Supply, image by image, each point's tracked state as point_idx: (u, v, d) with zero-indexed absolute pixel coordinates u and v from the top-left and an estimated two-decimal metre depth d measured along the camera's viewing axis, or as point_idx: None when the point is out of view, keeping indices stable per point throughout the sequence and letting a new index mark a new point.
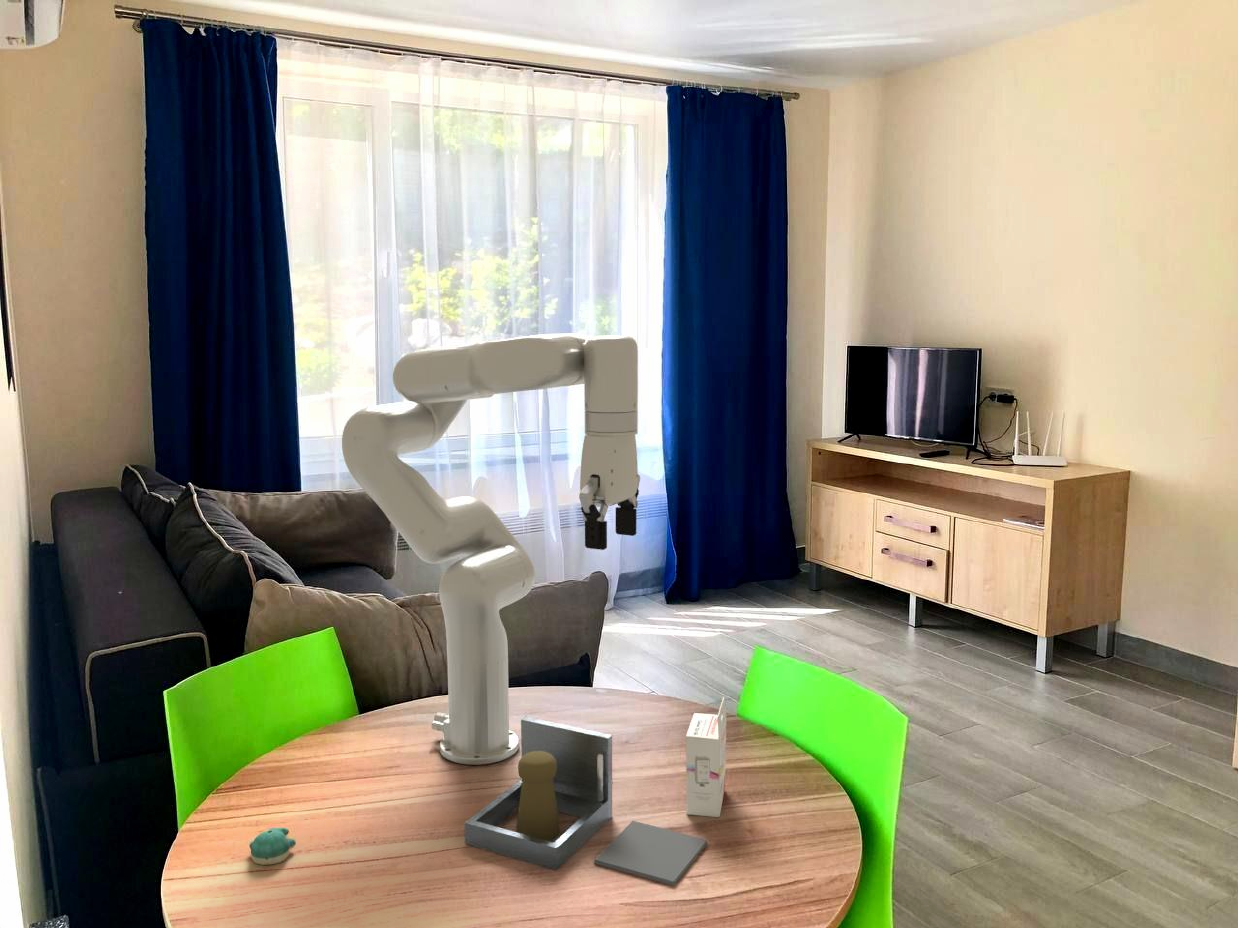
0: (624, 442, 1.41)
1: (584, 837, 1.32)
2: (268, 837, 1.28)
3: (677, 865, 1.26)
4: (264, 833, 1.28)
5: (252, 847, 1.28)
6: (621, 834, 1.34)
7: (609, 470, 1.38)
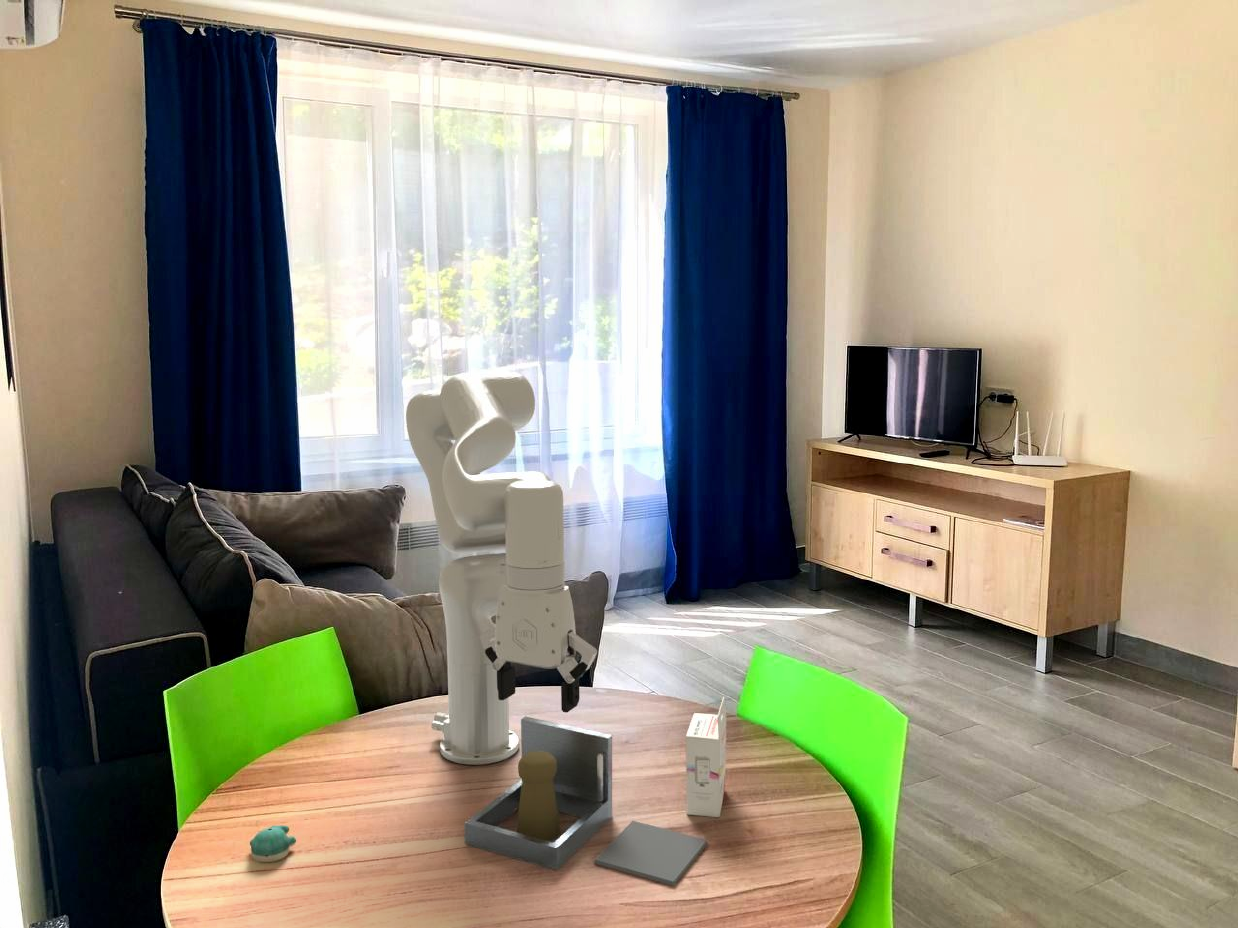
0: None
1: (584, 837, 1.32)
2: (268, 835, 1.28)
3: (677, 865, 1.26)
4: (264, 831, 1.29)
5: (252, 844, 1.28)
6: (621, 834, 1.34)
7: None
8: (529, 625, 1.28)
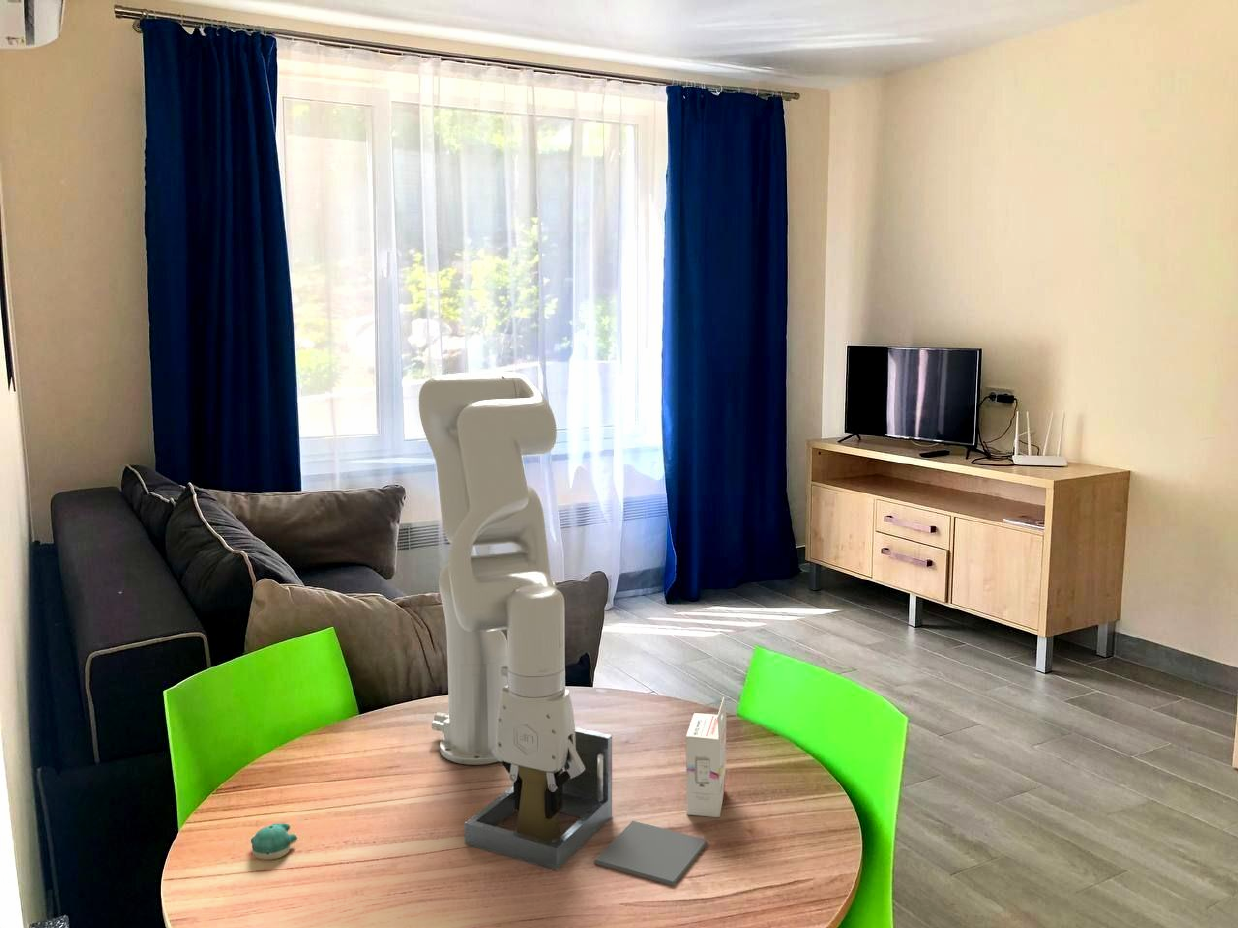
0: None
1: (584, 837, 1.32)
2: (269, 833, 1.29)
3: (677, 865, 1.26)
4: (265, 828, 1.29)
5: (253, 842, 1.29)
6: (621, 834, 1.34)
7: None
8: (530, 730, 1.30)
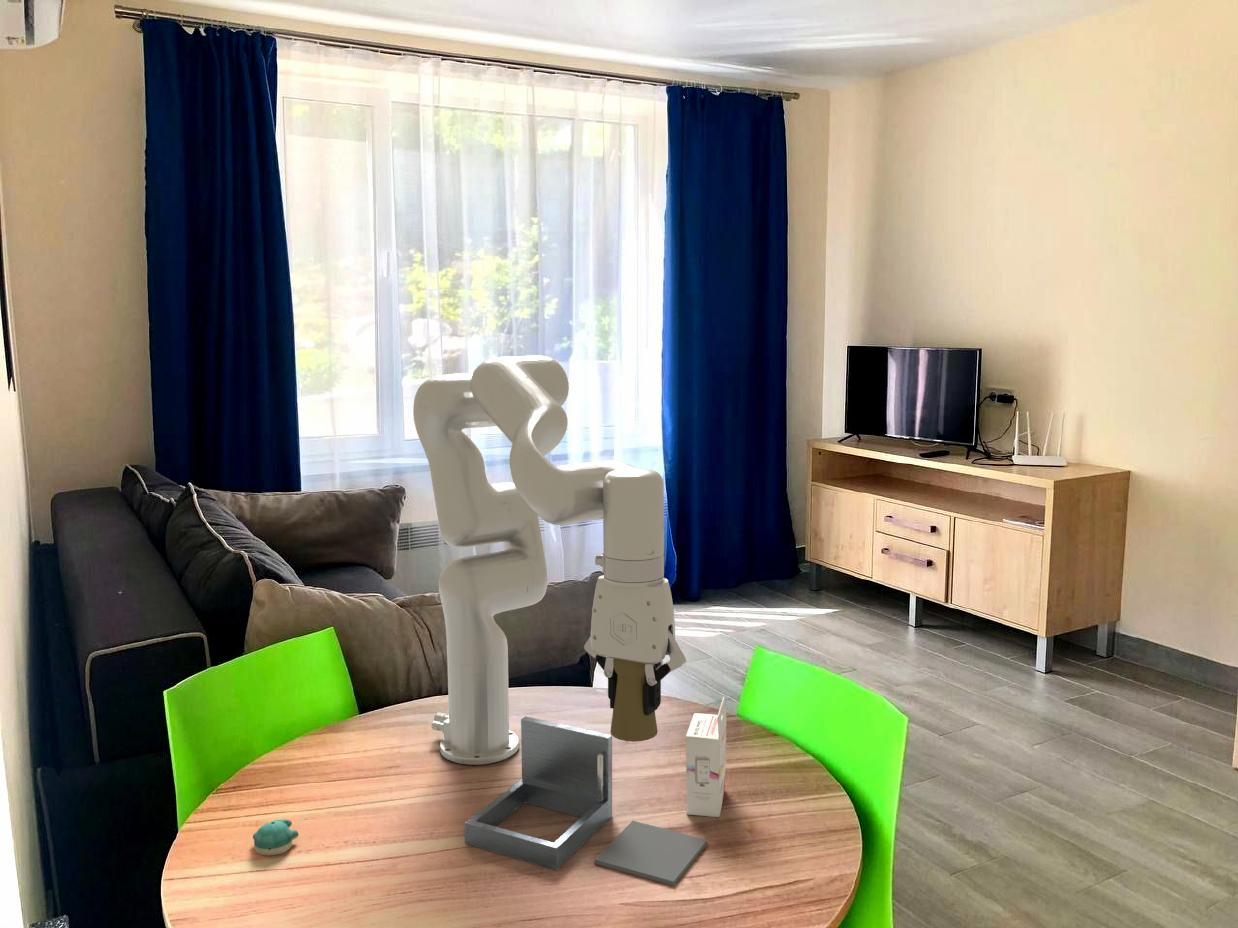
0: None
1: (584, 837, 1.32)
2: (271, 829, 1.30)
3: (677, 865, 1.26)
4: (267, 824, 1.30)
5: (255, 838, 1.30)
6: (621, 834, 1.34)
7: None
8: (628, 619, 1.23)
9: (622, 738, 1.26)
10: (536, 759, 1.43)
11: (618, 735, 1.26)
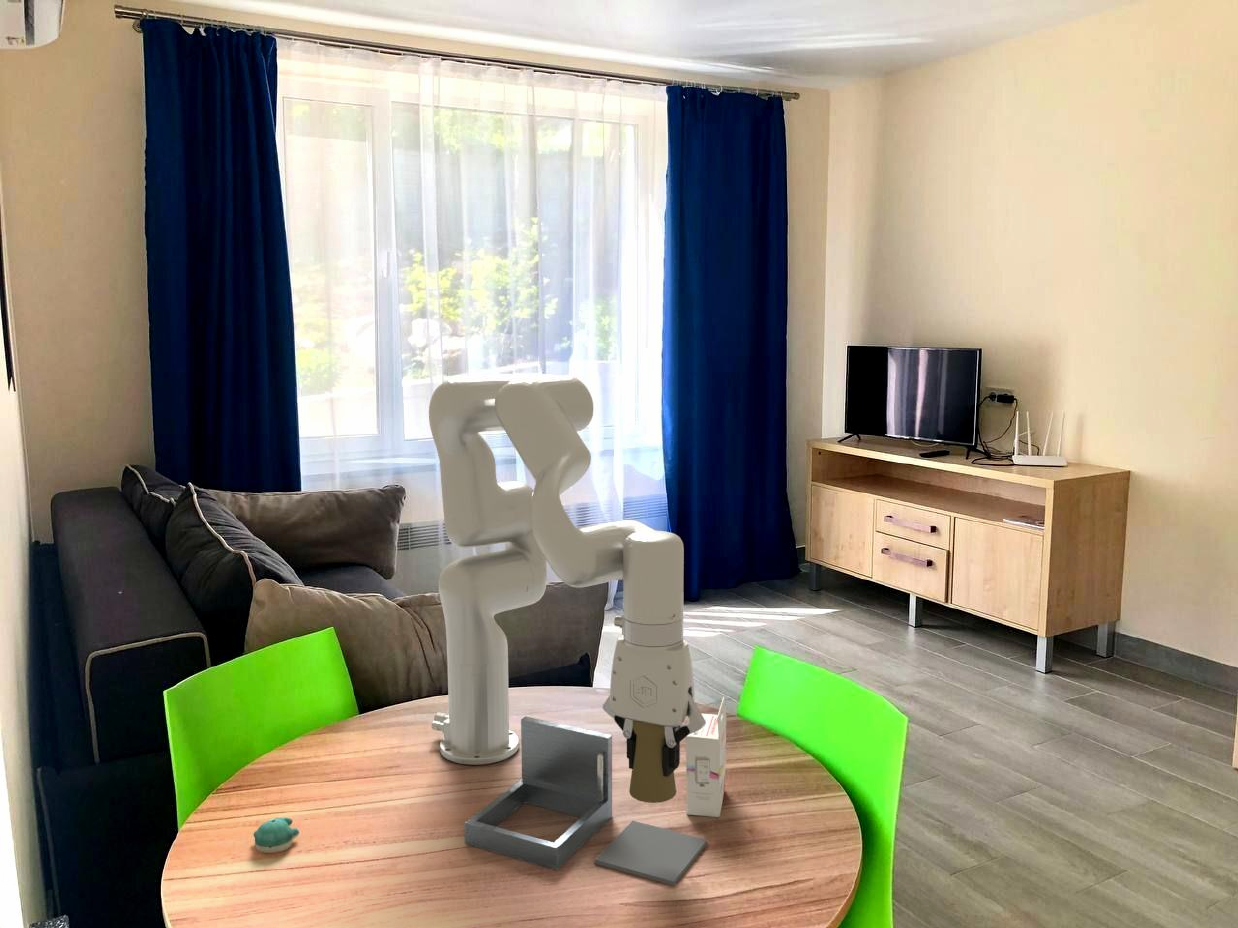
0: None
1: (584, 837, 1.32)
2: (272, 827, 1.30)
3: (677, 865, 1.26)
4: (268, 822, 1.31)
5: (256, 836, 1.30)
6: (621, 834, 1.34)
7: None
8: (648, 682, 1.24)
9: (641, 799, 1.26)
10: (536, 759, 1.43)
11: (637, 796, 1.26)
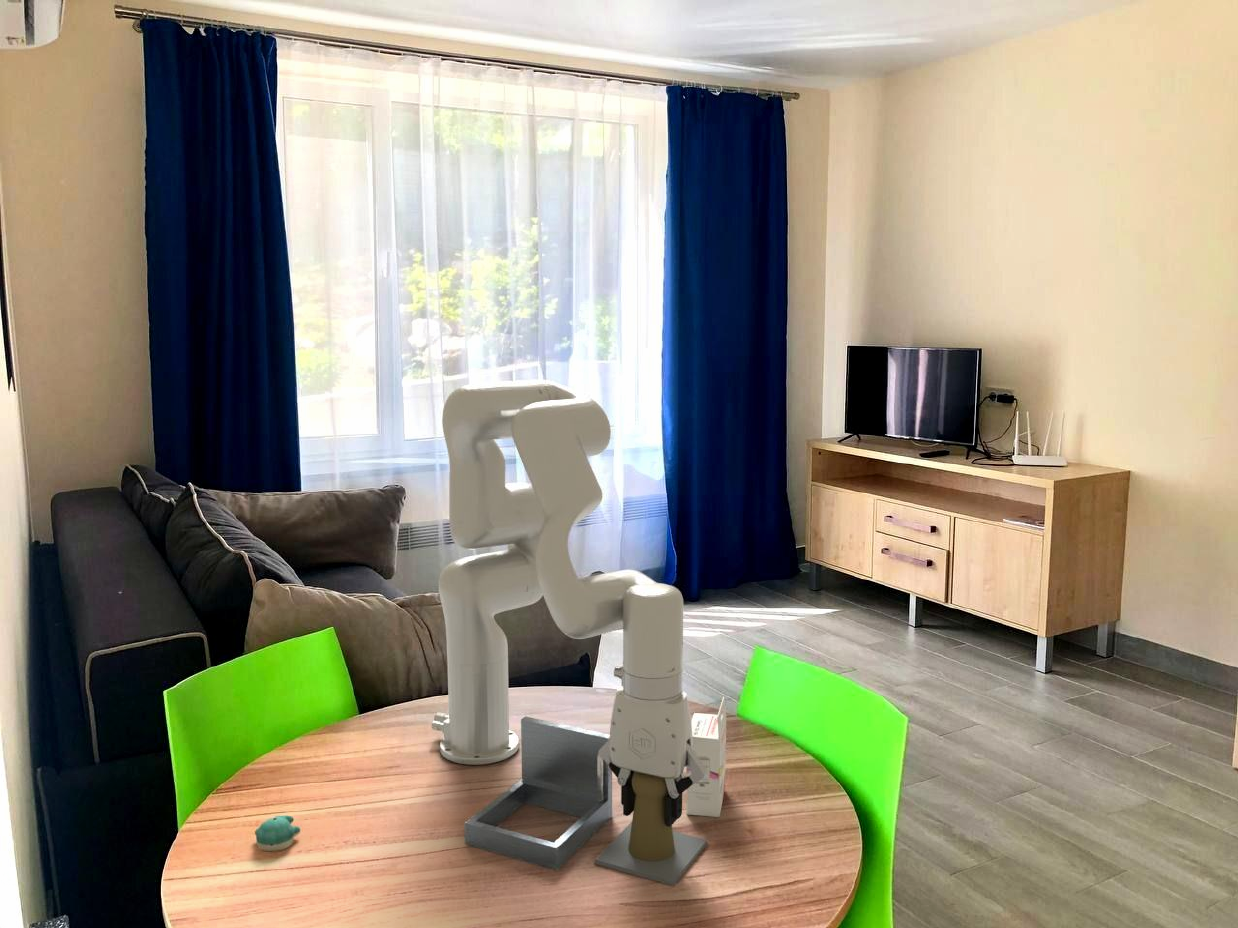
0: None
1: (584, 837, 1.32)
2: (273, 825, 1.31)
3: (677, 865, 1.26)
4: (269, 820, 1.32)
5: (257, 834, 1.31)
6: (621, 834, 1.34)
7: None
8: (647, 734, 1.25)
9: (641, 858, 1.28)
10: (536, 759, 1.43)
11: (637, 854, 1.28)
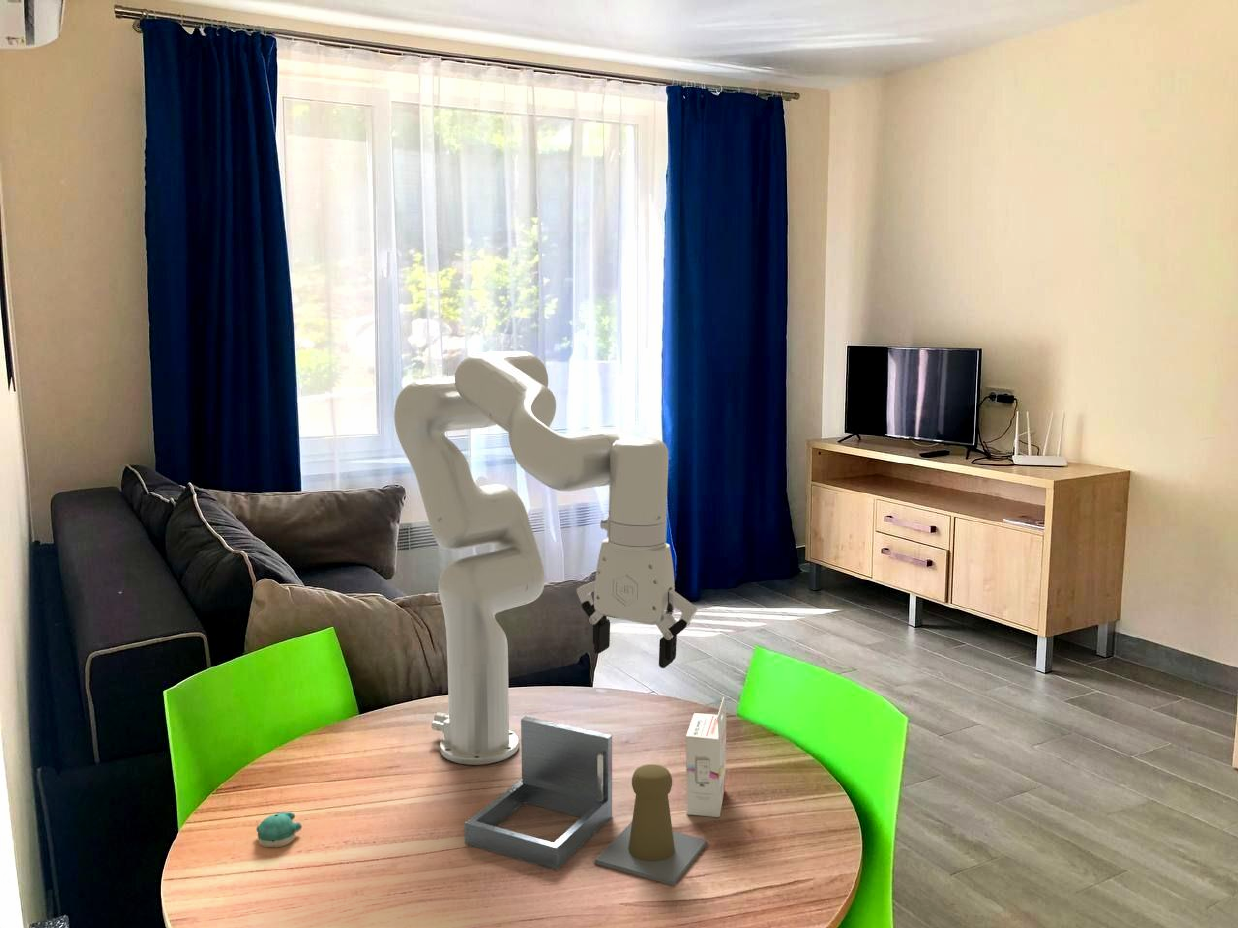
0: None
1: (584, 837, 1.32)
2: (275, 821, 1.32)
3: (677, 865, 1.26)
4: (271, 817, 1.32)
5: (259, 830, 1.32)
6: (621, 834, 1.34)
7: None
8: (630, 581, 1.29)
9: (641, 858, 1.28)
10: (536, 759, 1.43)
11: (637, 854, 1.28)
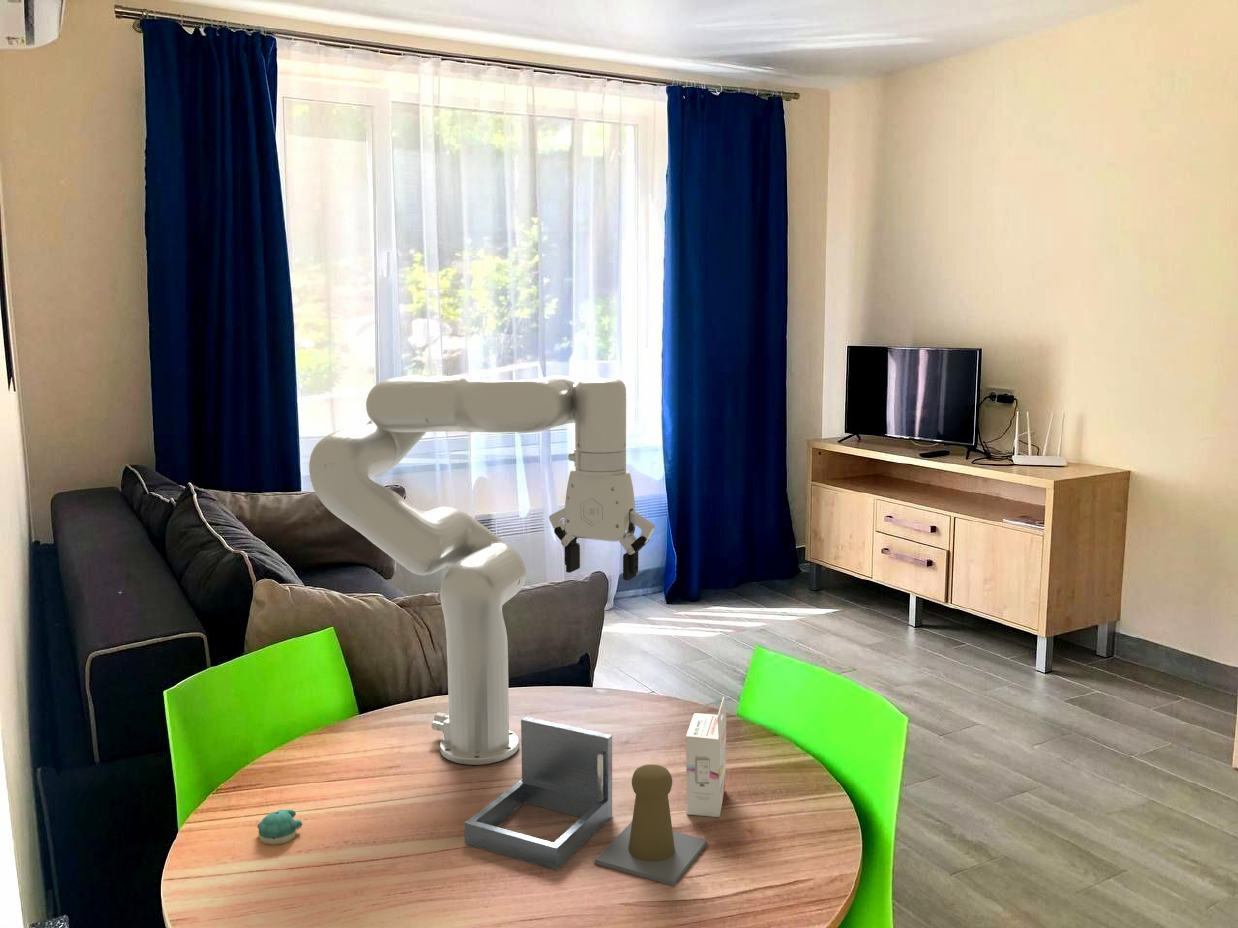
0: None
1: (584, 837, 1.32)
2: (275, 818, 1.32)
3: (677, 865, 1.26)
4: (271, 814, 1.33)
5: (260, 827, 1.32)
6: (621, 834, 1.34)
7: None
8: (596, 503, 1.47)
9: (641, 858, 1.28)
10: (536, 759, 1.43)
11: (637, 854, 1.28)
